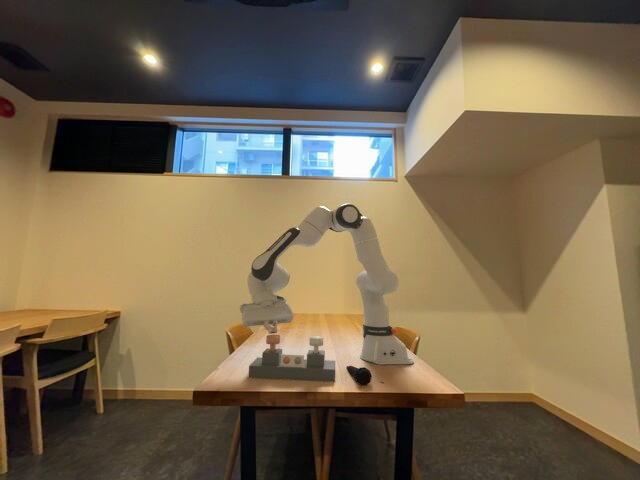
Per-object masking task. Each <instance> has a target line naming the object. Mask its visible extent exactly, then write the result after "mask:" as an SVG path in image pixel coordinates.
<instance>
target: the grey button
mask: <svg viewBox="0 0 640 480" xmlns="http://www.w3.org/2000/svg"><path fill="white" fill-rule="evenodd" d="M323 345H324V337H323V336H318V335H317V336H316V335H315V336H314V335H313V336H310V337H309V346H312V347H313V350H314V353H317V354H318V353H319V349H320V347H322V346H323Z"/></svg>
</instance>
